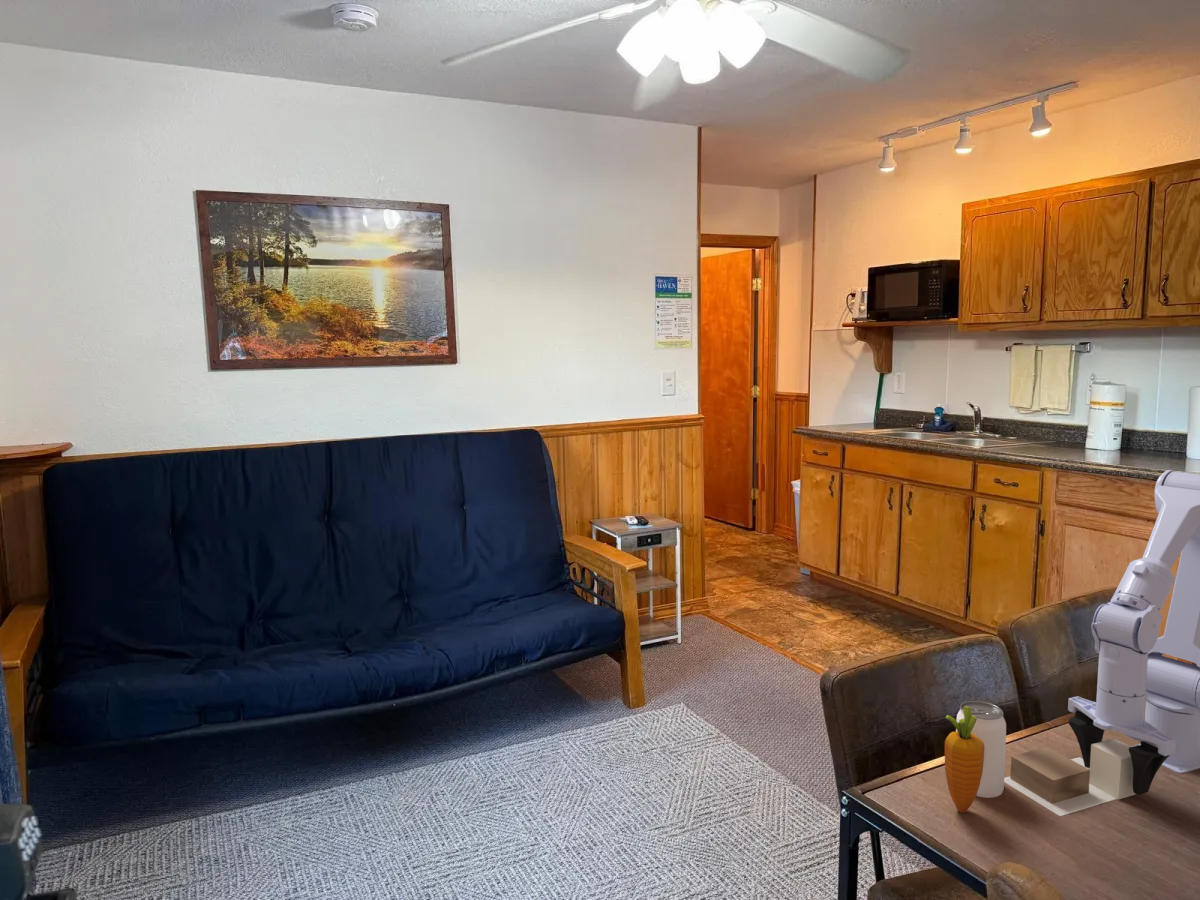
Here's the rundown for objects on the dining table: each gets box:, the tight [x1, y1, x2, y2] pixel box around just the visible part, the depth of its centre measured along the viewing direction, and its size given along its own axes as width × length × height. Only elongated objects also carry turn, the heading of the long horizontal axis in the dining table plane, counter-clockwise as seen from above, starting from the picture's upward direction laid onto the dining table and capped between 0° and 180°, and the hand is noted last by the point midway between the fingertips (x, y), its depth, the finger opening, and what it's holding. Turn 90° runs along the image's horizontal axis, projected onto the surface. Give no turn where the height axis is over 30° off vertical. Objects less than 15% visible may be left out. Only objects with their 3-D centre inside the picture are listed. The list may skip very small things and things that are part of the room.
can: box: [955, 700, 1007, 799], centre depth 115 cm, size 6×6×12 cm
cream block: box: [1089, 737, 1136, 801], centre depth 113 cm, size 4×4×6 cm
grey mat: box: [1004, 757, 1117, 817], centre depth 115 cm, size 16×10×1 cm, turn 110°
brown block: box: [1010, 746, 1090, 804], centre depth 114 cm, size 7×7×4 cm
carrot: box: [944, 706, 985, 814], centre depth 108 cm, size 5×5×15 cm
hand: (1115, 778), depth 114 cm, fingers open, 7 cm apart
